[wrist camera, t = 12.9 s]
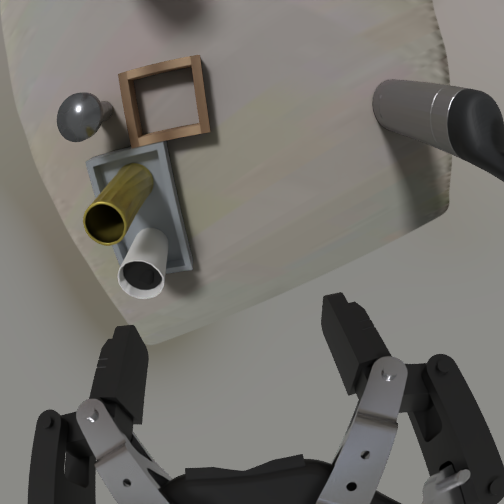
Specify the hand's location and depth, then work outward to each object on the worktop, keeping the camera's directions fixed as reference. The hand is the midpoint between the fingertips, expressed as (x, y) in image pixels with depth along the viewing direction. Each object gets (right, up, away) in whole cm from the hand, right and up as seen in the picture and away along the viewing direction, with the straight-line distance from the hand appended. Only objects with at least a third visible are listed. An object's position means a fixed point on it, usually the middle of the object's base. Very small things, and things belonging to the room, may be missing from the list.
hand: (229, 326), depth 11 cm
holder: (-11, +24, +23) cm, 35 cm away
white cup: (-15, +5, +33) cm, 37 cm away
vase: (-17, +14, +28) cm, 35 cm away
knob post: (-20, +23, +21) cm, 38 cm away
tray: (-16, +10, +31) cm, 36 cm away
